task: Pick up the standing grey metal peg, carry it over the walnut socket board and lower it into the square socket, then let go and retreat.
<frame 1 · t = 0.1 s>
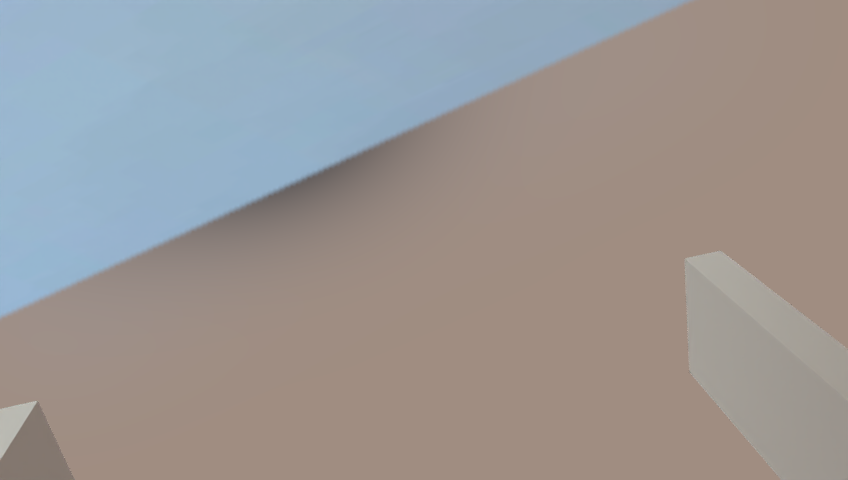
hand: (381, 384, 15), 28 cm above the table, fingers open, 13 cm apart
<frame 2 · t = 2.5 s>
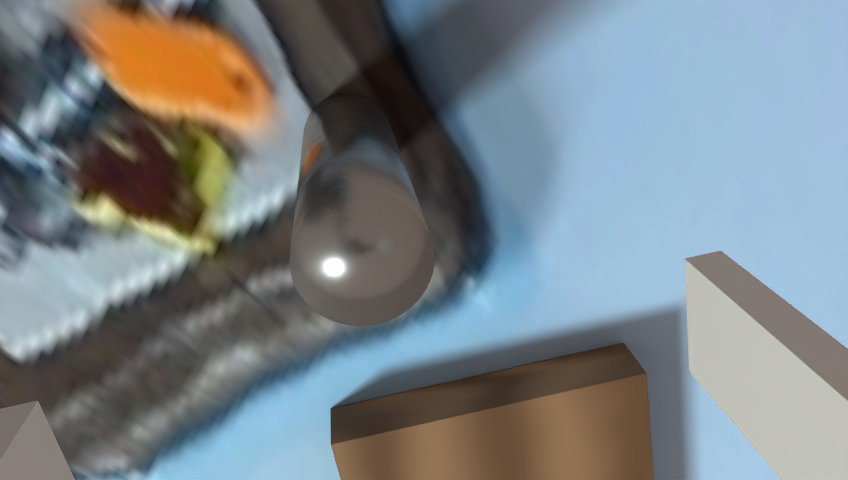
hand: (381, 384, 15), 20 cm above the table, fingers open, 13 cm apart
peg: (348, 138, 33), on the table
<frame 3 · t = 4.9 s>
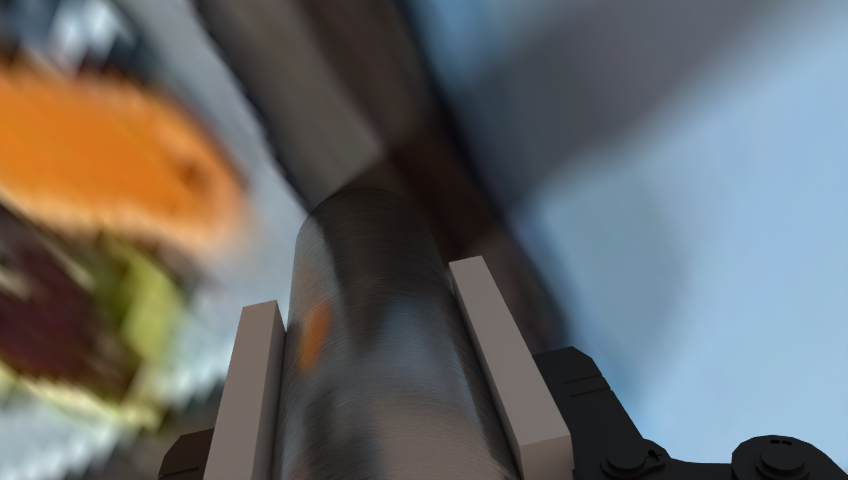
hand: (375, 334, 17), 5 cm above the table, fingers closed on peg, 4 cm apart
peg: (365, 255, 21), on the table, touching gripper
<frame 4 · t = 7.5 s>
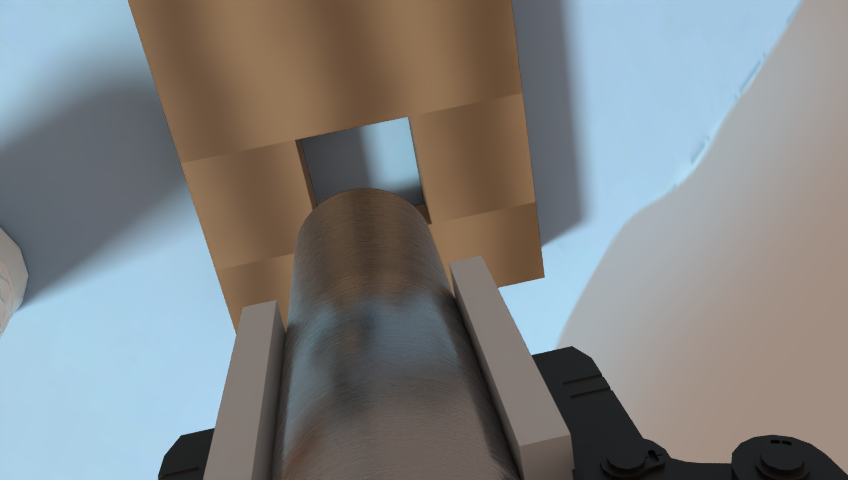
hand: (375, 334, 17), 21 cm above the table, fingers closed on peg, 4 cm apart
socket board: (345, 88, 36), on the table
peg: (365, 254, 21), point 17 cm above the table, touching gripper
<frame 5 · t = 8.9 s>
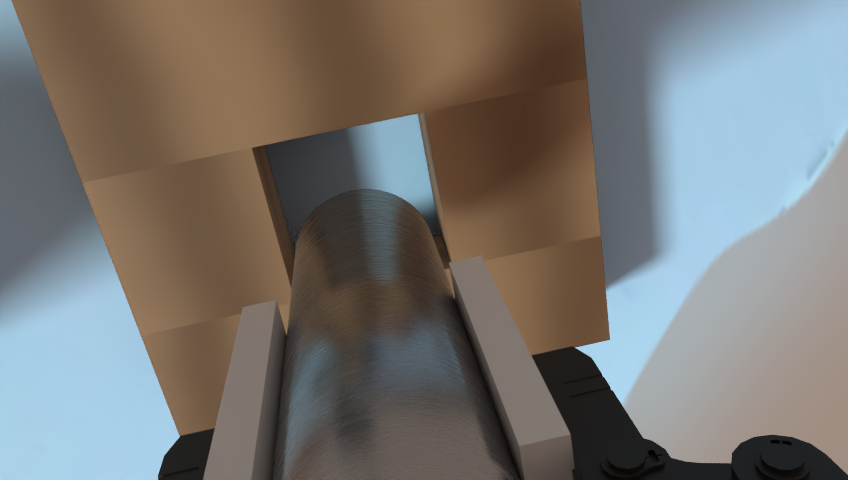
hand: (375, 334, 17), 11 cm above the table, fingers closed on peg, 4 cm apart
socket board: (329, 73, 25), on the table
peg: (365, 255, 21), point 6 cm above the table, touching gripper
when the fingers open (6 cm above the table, at t = 10.0 s): peg drops 1 cm, resting in socket board.
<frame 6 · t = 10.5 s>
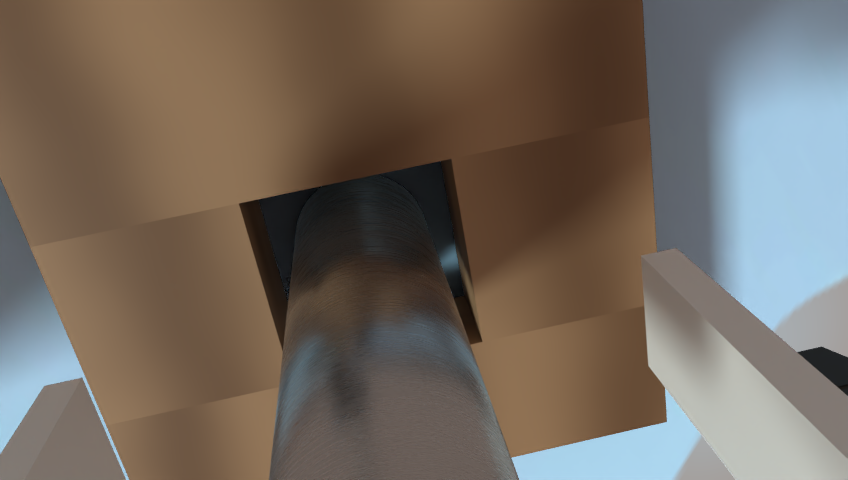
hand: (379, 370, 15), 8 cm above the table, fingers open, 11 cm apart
socket board: (333, 108, 21), on the table
peg: (361, 236, 22), resting in socket board
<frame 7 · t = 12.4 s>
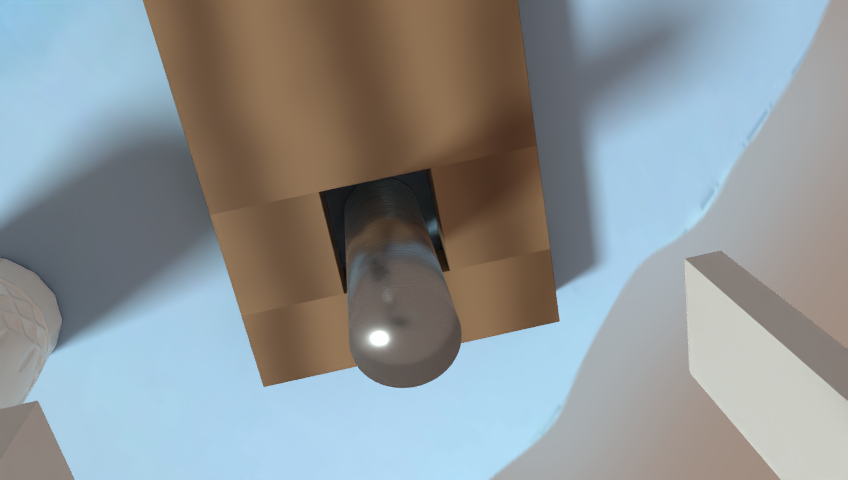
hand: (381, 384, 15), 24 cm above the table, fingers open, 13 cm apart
socket board: (366, 140, 37), on the table
peg: (382, 213, 39), resting in socket board
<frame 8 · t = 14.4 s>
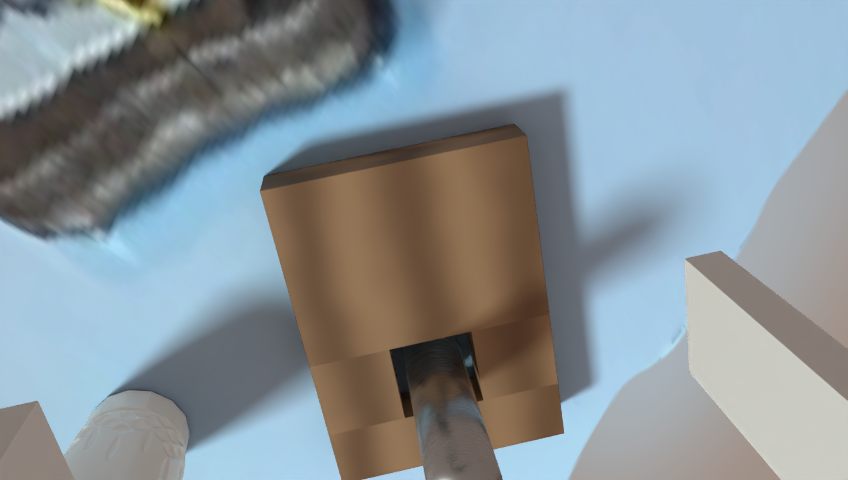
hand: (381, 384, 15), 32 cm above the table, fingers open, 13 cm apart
socket board: (421, 303, 50), on the table
white cup: (140, 427, 51), on the table
peg: (431, 352, 51), resting in socket board
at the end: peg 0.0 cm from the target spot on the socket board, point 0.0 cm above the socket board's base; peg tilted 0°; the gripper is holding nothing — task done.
